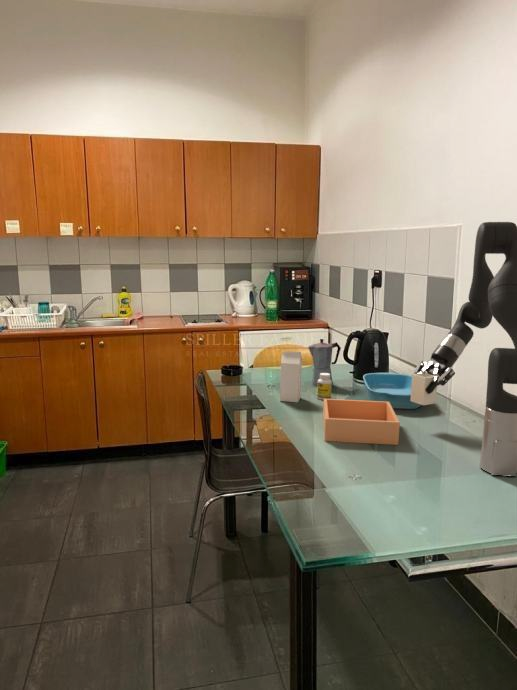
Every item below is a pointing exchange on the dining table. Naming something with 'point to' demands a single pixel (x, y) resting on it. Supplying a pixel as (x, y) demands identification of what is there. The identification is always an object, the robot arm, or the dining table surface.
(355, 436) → the large crate
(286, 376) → the milk carton
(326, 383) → the supplement bottle
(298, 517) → the dining table surface
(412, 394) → the small crate
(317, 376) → the moka pot
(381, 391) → the casserole dish
